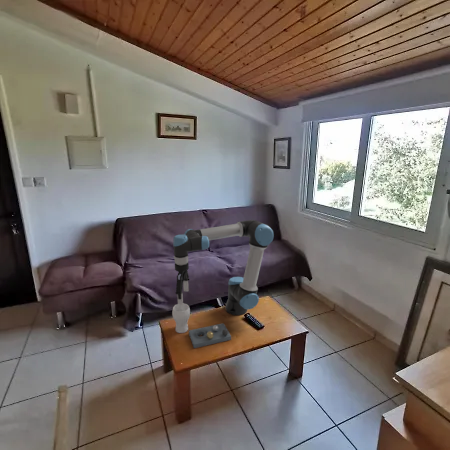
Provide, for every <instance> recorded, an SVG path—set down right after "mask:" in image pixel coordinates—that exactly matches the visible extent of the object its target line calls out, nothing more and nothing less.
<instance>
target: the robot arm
mask: <svg viewBox="0 0 450 450" xmlns="http://www.w3.org/2000/svg"><path fill="white" fill-rule="evenodd" d="M274 235H275V234H274V230H273V229H272V228H271V227H270V226H269V225H268V224H265V223H262V222H260V221H259V220H255V219H248V220H241V221H238V222H236V223H233V224H232V223H231V224H226V225H221V226H214V227H208V228H206V227H205V228H202V229H193V228H188V229H186V230H185V232H184V233H183V234H177V235H176V234H175V235H174V237H173V243H172V245H173V257H172V258H173V259H174V270H175V271H176V272H178V273H177V275H176V289H175V295H176V297H177V304H183V303H184V298H183V292H189V281H190V278H189V277H190V276H189V272H188V271H189V265H190V264H189V253H190V252H197V251H203V250H208V249H209V247H210V241H213V240H221V239H225V238H231V237H232V238H233V237H236V236H239V237H240V238H242V237H247V238H249V240H248V245H249V252H248V257H247V261H246V266H245V270H244V274H243V277H242V276H233V277H230V278H229V280H228V290H227V293H228V296H227V298H228V299H227V301H226V304H225V311H226V313H228V314H230V315H232V316H242V315H245V314H246V313H247V312H248V310H251V309H254V308H255V307H256V306H257V305H258V303H259V301H260V298H259V295H258V294H257V293H258V290H259V288H258V286H257V282H258V279H259V273H260V270H261V266H262V261H263V256H264V252H265V250H266V249H268V246H270V245H271V243H272V242H273V240H274V237H275V236H274Z"/></svg>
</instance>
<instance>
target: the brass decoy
mask: <svg viewBox="0 0 450 450" xmlns="http://www.w3.org/2000/svg"><path fill="white" fill-rule="evenodd" d="M213 336H214V334H213V332H211V331H209V332H208V333H207V338H208V339H212V338H213Z"/></svg>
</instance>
